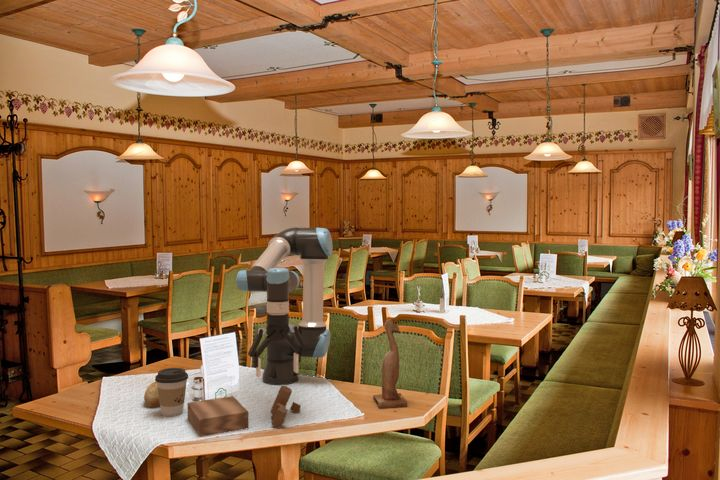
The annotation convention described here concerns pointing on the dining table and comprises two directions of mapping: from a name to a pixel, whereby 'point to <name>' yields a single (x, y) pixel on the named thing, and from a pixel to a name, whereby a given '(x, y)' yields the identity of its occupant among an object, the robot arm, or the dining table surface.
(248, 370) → the dining table surface
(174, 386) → the coffee cup
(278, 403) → the wooden block set
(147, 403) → the bread roll
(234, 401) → the walnut base block
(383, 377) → the bird sculpture
